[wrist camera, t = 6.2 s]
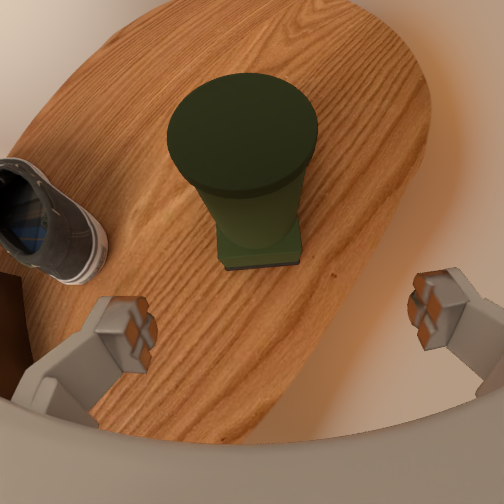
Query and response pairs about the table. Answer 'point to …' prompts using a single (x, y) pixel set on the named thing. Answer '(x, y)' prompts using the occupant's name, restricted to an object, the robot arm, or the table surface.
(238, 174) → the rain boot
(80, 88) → the table surface
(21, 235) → the boat shoe
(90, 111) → the table surface
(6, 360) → the shoe bench
